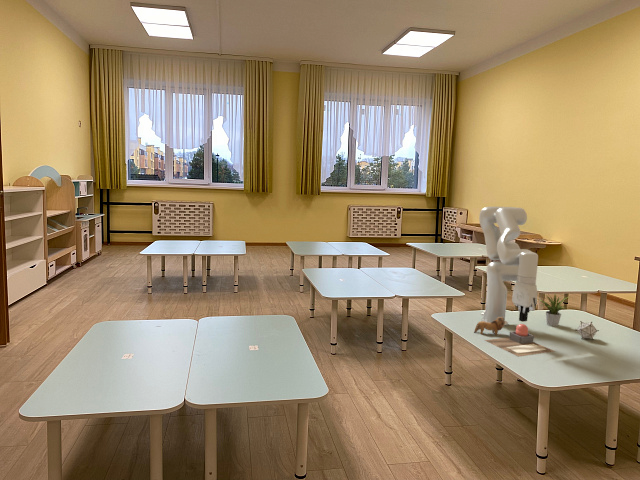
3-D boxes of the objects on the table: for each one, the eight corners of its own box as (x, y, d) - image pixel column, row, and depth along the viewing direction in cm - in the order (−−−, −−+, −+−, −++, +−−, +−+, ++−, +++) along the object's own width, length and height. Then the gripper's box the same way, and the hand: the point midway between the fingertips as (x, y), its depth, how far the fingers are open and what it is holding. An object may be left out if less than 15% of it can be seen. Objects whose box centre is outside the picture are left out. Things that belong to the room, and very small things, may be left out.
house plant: (558, 320, 248) (561, 289, 246) (575, 328, 235) (579, 296, 232) (532, 320, 246) (535, 289, 244) (549, 329, 233) (552, 296, 230)
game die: (586, 345, 222) (596, 327, 223) (594, 344, 214) (605, 326, 215) (568, 334, 224) (579, 316, 225) (576, 333, 215) (587, 315, 217)
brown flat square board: (484, 342, 210) (484, 339, 210) (519, 338, 217) (519, 335, 217) (517, 359, 191) (518, 356, 191) (555, 354, 199) (555, 350, 198)
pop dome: (512, 334, 212) (513, 322, 211) (521, 333, 214) (522, 322, 213) (521, 338, 207) (522, 326, 207) (530, 337, 209) (531, 325, 208)
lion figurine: (500, 334, 223) (502, 315, 222) (505, 337, 218) (507, 318, 216) (470, 333, 222) (471, 315, 221) (474, 337, 217) (476, 318, 215)
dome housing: (508, 338, 213) (509, 332, 212) (521, 337, 216) (521, 330, 215) (520, 344, 206) (521, 337, 206) (533, 342, 209) (534, 335, 208)
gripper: (507, 277, 213) (504, 316, 215) (533, 284, 199) (529, 326, 201) (520, 276, 215) (517, 315, 218) (546, 283, 202) (542, 325, 204)
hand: (523, 320), depth 209 cm, fingers closed
